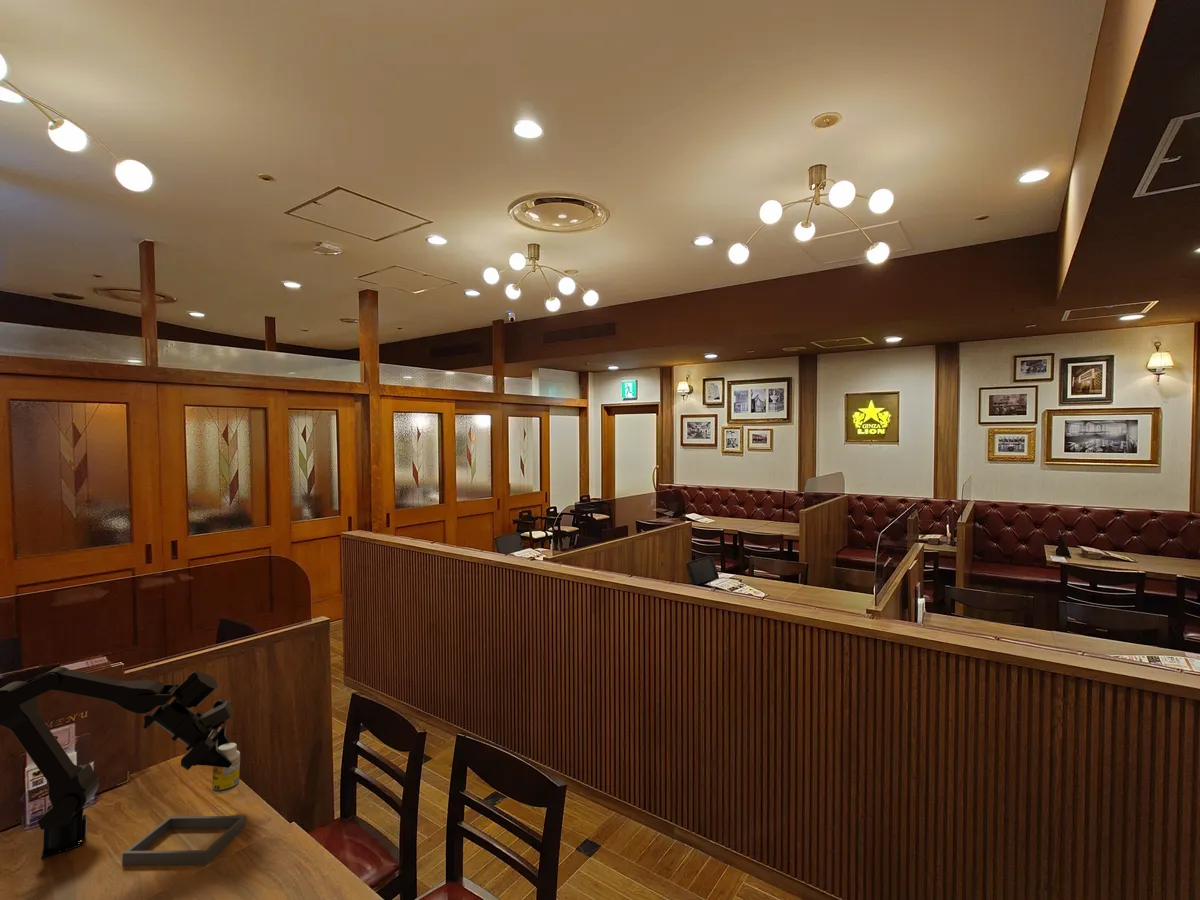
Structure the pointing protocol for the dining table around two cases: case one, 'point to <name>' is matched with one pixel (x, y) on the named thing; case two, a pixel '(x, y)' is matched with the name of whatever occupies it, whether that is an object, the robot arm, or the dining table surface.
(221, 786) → the supplement bottle
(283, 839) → the dining table surface
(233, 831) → the gray open frame
